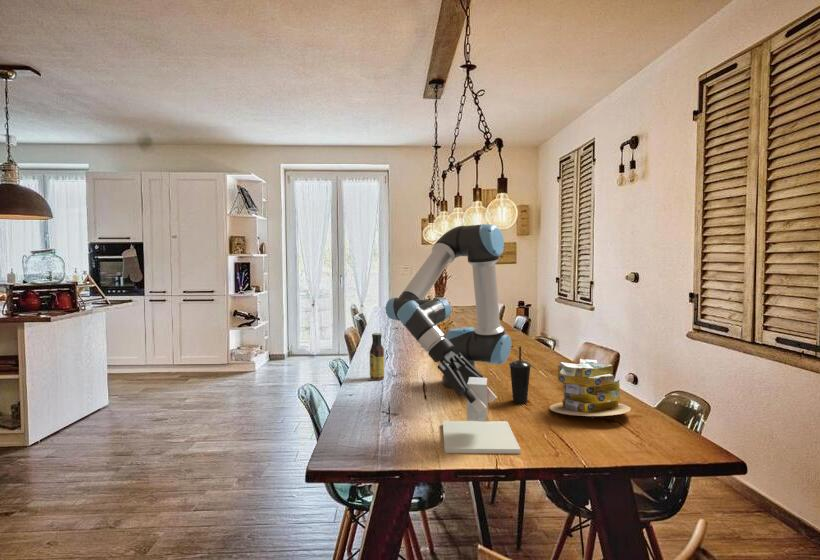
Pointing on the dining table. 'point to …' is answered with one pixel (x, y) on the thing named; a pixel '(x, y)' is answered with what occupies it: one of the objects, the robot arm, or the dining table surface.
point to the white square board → (479, 437)
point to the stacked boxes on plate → (589, 390)
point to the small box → (481, 391)
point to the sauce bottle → (376, 358)
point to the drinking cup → (520, 379)
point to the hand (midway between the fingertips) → (488, 405)
